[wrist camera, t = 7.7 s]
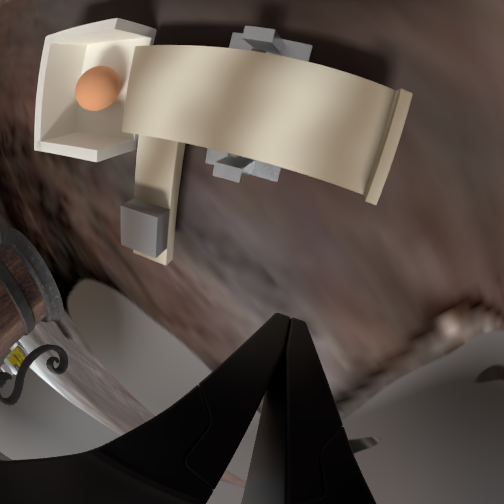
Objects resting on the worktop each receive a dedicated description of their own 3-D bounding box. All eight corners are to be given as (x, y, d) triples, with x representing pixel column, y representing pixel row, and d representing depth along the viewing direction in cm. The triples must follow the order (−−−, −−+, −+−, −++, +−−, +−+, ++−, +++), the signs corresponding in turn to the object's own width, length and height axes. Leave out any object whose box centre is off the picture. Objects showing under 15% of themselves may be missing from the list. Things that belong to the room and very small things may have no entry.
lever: (402, 93, 12) (415, 89, 9) (320, 311, 19) (316, 335, 17) (144, 45, 14) (121, 40, 11) (126, 240, 21) (107, 255, 19)
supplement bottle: (32, 359, 54) (13, 381, 46) (27, 358, 56) (9, 379, 48) (21, 344, 52) (0, 366, 44) (16, 343, 55) (-3, 364, 46)
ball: (78, 67, 14) (121, 67, 16) (73, 110, 16) (114, 108, 18) (78, 65, 12) (127, 64, 14) (72, 114, 14) (120, 112, 16)
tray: (156, 29, 14) (117, 17, 10) (136, 149, 19) (96, 162, 15) (84, 38, 15) (46, 36, 11) (71, 138, 20) (34, 150, 16)
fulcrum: (312, 46, 13) (309, 32, 10) (277, 181, 18) (268, 194, 15) (234, 33, 14) (215, 20, 11) (206, 161, 18) (185, 171, 16)
